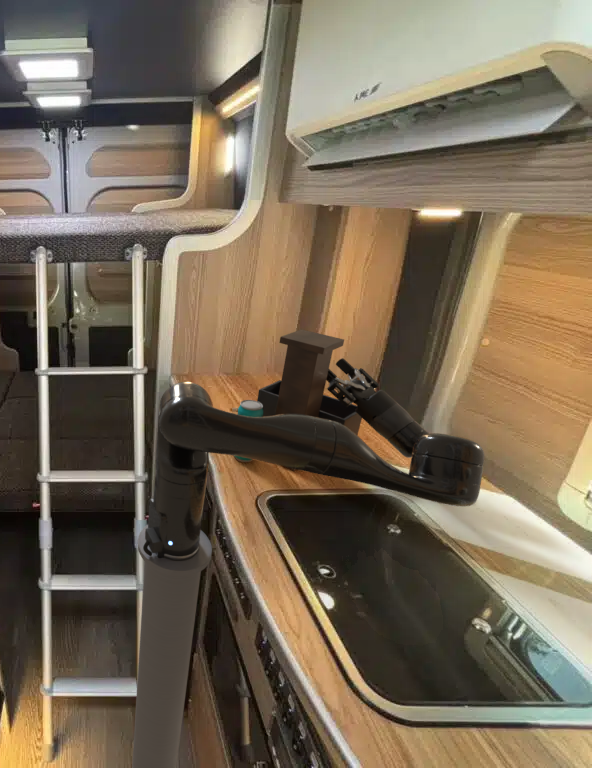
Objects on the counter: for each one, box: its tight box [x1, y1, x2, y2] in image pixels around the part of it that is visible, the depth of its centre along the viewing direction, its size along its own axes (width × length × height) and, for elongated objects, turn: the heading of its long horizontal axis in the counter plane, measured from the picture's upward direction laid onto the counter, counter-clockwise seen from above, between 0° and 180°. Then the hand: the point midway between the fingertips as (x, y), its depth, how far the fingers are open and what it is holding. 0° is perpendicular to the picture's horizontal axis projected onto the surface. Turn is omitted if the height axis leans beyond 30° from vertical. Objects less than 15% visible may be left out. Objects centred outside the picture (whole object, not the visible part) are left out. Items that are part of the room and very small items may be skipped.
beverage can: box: [233, 399, 263, 463], centre depth 115 cm, size 6×6×15 cm
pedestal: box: [275, 328, 345, 472], centre depth 110 cm, size 10×9×32 cm
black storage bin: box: [256, 379, 363, 436], centre depth 123 cm, size 23×10×13 cm, turn 38°
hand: (330, 364), depth 114 cm, fingers open, 8 cm apart
